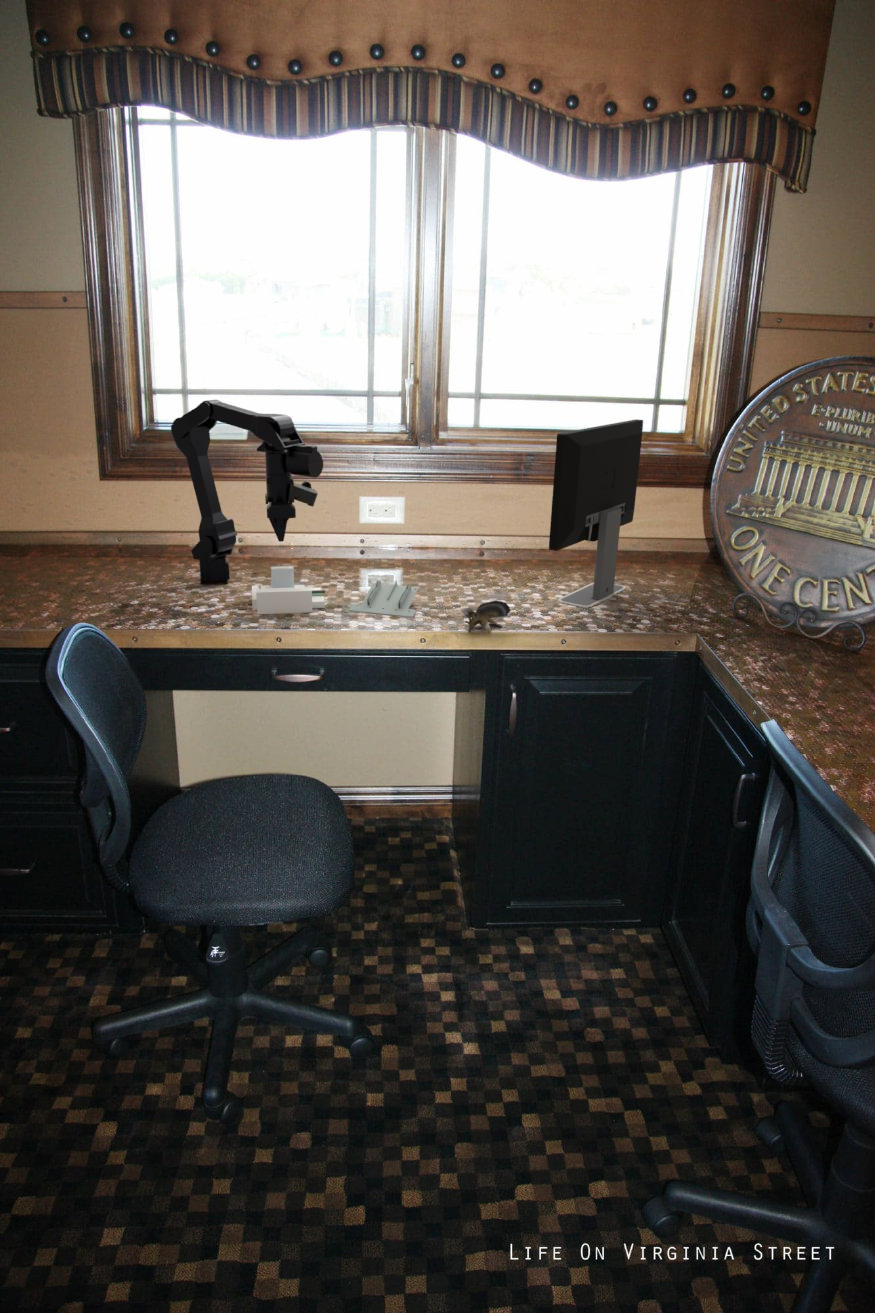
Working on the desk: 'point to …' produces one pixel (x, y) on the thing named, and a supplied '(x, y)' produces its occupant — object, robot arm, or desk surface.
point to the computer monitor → (595, 498)
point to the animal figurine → (486, 614)
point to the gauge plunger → (285, 578)
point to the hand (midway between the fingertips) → (281, 541)
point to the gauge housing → (286, 600)
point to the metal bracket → (388, 600)
